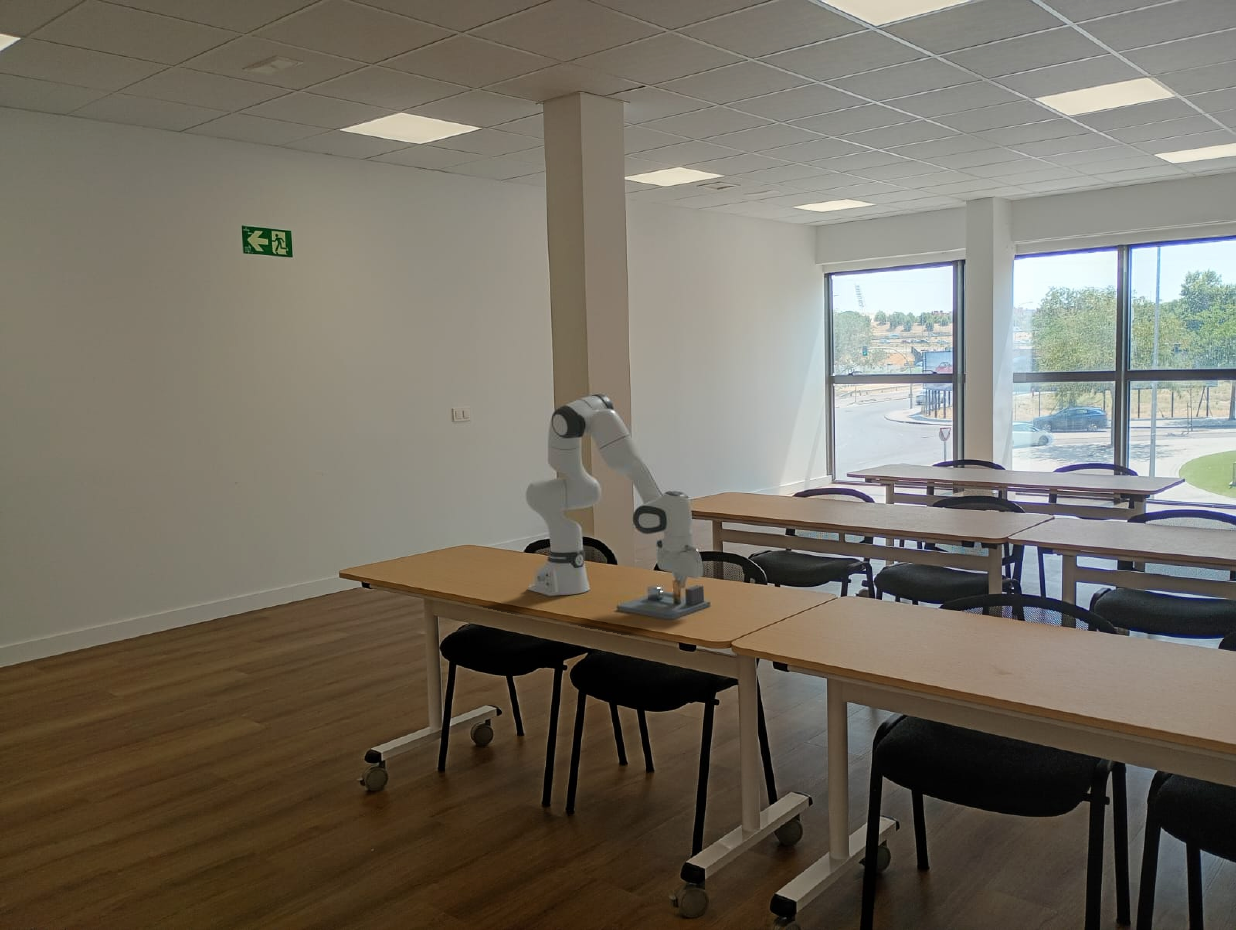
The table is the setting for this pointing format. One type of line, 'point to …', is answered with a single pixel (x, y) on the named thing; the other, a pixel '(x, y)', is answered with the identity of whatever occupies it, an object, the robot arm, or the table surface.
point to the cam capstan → (665, 592)
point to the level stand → (668, 605)
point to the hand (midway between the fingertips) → (681, 587)
